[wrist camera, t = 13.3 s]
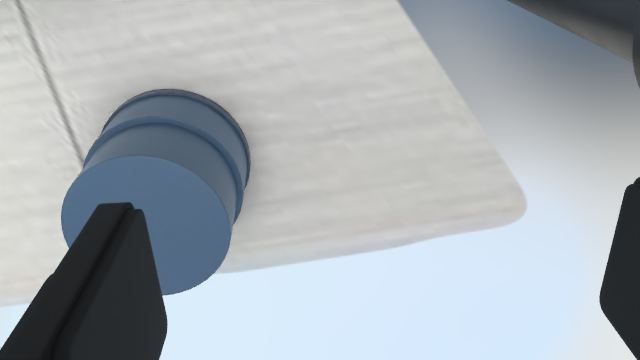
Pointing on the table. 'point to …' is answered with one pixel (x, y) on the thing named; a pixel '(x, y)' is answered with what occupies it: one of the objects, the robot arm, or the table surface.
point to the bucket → (168, 180)
